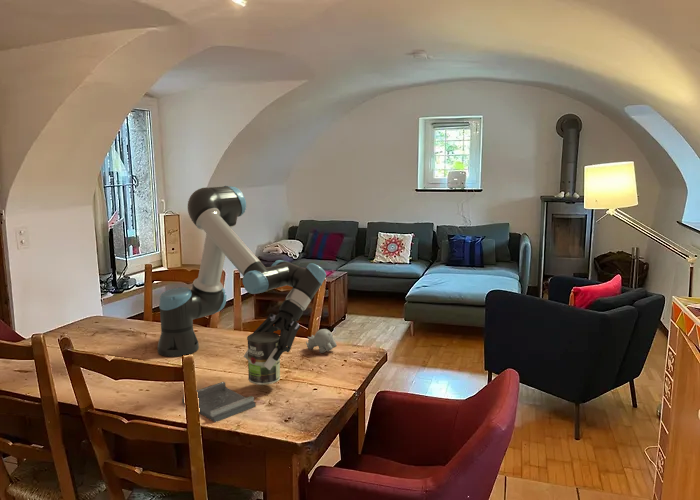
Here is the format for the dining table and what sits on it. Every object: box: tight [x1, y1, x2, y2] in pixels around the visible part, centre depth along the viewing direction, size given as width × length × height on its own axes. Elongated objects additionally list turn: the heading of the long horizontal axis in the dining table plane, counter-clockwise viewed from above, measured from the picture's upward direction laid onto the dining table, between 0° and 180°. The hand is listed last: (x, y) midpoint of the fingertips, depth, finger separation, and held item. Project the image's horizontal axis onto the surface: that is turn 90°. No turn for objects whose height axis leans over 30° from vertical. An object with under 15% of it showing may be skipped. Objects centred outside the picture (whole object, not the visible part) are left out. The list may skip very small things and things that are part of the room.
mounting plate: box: [181, 381, 257, 423], centre depth 167 cm, size 18×14×3 cm
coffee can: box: [246, 332, 281, 386], centre depth 177 cm, size 10×10×14 cm
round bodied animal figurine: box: [305, 328, 337, 354], centre depth 212 cm, size 7×12×8 cm, turn 62°
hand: (256, 363), depth 175 cm, fingers closed on coffee can, 10 cm apart
